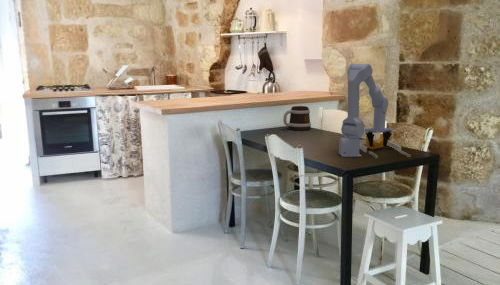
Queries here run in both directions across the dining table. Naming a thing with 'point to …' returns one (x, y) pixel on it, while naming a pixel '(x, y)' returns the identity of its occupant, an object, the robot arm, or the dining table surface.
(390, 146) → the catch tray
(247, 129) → the dining table surface
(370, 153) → the slot guide
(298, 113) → the mug
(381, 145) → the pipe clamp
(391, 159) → the dining table surface
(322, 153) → the dining table surface
